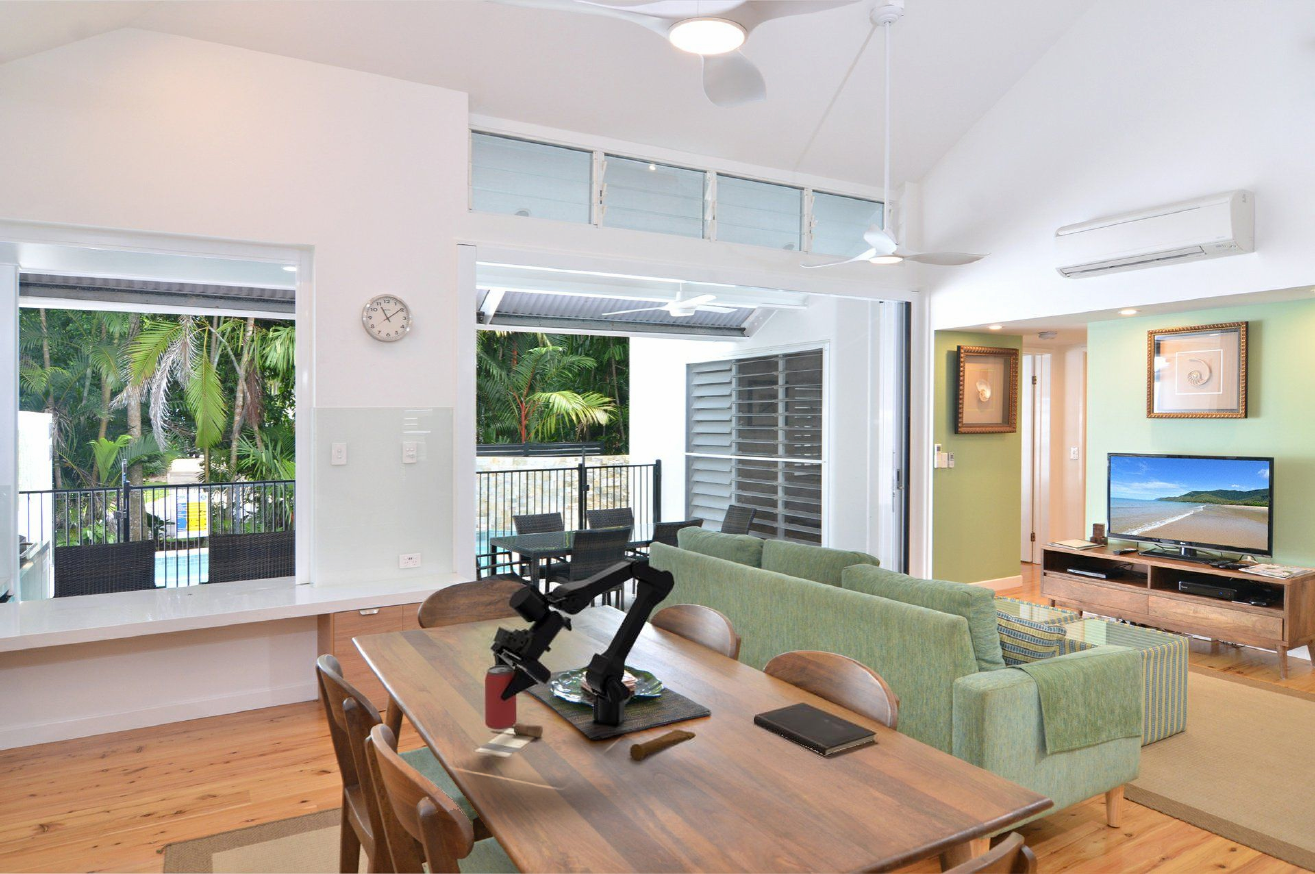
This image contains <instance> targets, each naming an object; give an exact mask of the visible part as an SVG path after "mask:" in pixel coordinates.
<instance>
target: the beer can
mask: <svg viewBox="0 0 1315 874" xmlns="http://www.w3.org/2000/svg"><path fill="white" fill-rule="evenodd" d="M514 669H515V667H512V666H507V665H498V666H495V665H493V666H490V667H488V669H486V671H487V672H486V675H485V679H484V706H485V707H484V709H485V710H484V711H485V712H484V713H485V714H484V715H485V717H484V718H485V720H484V723H485V725H486V726H487V728H489V729H492V730H508V729H509V728H510V727H512V726H515V724H516V723H517V722H518V720H517V694H516V695H514V696H512V697H511V698H509V699H507V700H505V701H503V700H502V699H501V696H502V694H503V692H504V690H505V689H506V687H507V686H508V684H509V682H510V681H511V679H512V678H513V676H514Z"/></svg>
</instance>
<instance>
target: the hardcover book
mask: <svg viewBox="0 0 1315 874" xmlns="http://www.w3.org/2000/svg"><path fill="white" fill-rule="evenodd" d="M753 723H754V724H756V725H758V726H760V727H762V726H763V728H764V727H765V728H764V729H767V730H768V729H769V730H768V731H770V730H771V732H772V731H773V733H774V732H775V734H777V733H778V734H777V735H779V734H780V735H779V736H781V735H783V736H784V737H783V736H782V737H783V738H785V737H787V738H788V739H787V738H786V739H787V740H789V739H790V740H789V741H791V740H793V741H795V742H798V743H800V744H802V745H804V746H807V747H809V748H812V749H813V750H816V751H818V752H819V753H822V754H823V755H826V754H827V753H832V752H834V751H836V750H840V749H843V748H848V747H850V746H854V745H857V744H861V745H863V744H862V743H864V742H868V743H869V741H871V742H873V741H872V740H874V741H875V735H877V732H876V731H873V730H871V729H870V728H866V727H863V726H861V725H859V724H856V723H855V722H851V721H849V720H847V719H844V718H842V717H840V716H837V715H834V714H832V713H829V712H827V711H825V710H823V709H820V708H817V707H815V706H813V705H811V704H808V703H805V702H799V703H797V704H792V705H788V706H784V707H781V708H777V709H773V710H770V711H769V710H768V711H766V712H761V713H757V714H755V715H754V716H753ZM793 741H792V742H793ZM795 742H794V743H795ZM798 743H797V744H798ZM800 744H799V745H800ZM864 744H865V743H864ZM802 745H801V746H802ZM804 746H803V747H804ZM819 753H818V754H819ZM823 755H822V756H823ZM826 756H827V755H826Z"/></svg>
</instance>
